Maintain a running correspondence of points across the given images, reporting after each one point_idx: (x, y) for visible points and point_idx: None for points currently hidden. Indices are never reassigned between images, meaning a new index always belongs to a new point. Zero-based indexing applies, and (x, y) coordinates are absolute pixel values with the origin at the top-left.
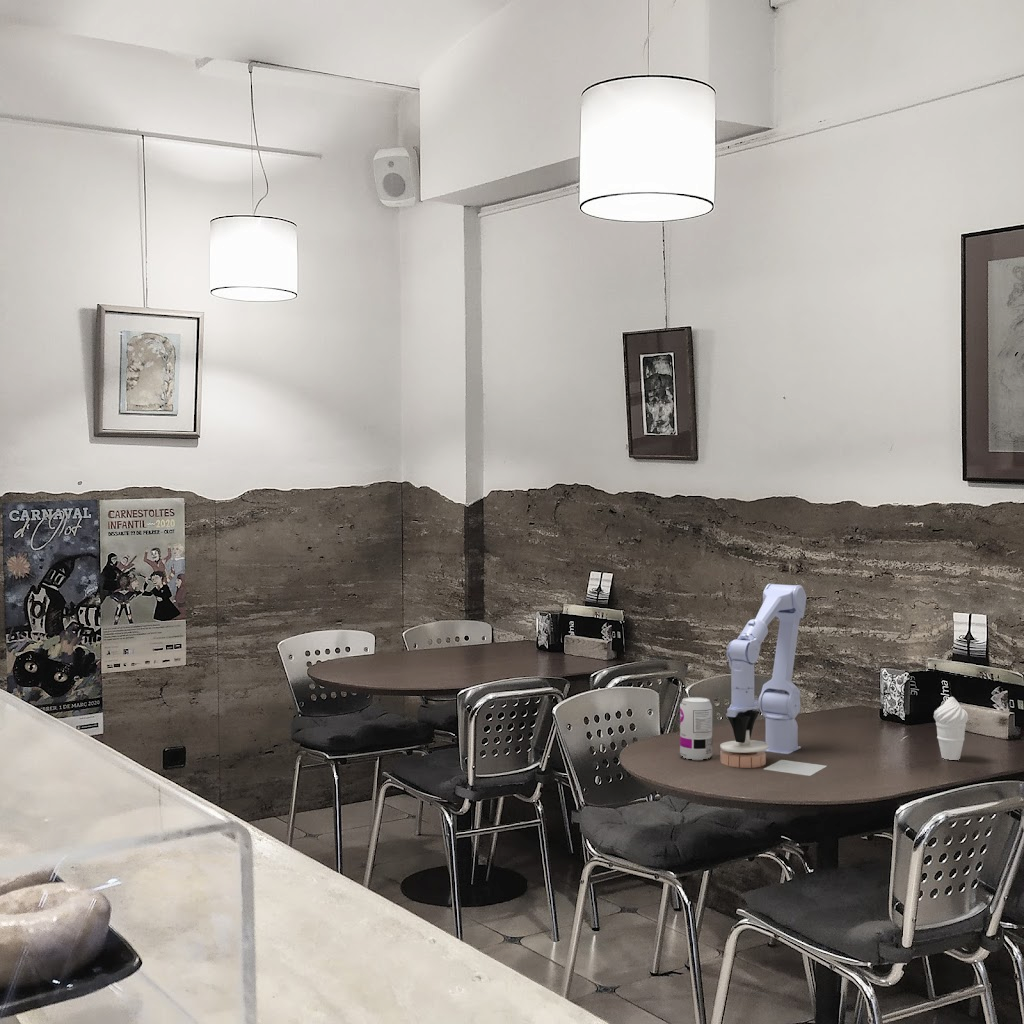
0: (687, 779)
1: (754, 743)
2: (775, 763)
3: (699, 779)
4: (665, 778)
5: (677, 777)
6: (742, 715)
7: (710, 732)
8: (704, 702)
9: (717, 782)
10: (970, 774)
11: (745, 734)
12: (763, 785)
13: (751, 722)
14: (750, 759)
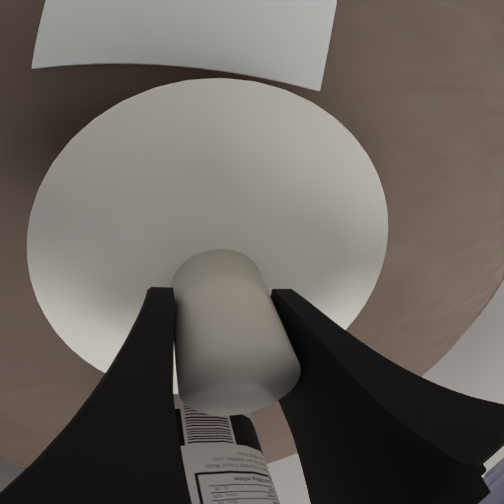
0: (457, 298)
1: (147, 232)
2: (143, 55)
3: (459, 275)
4: (446, 337)
5: (441, 324)
6: (449, 495)
7: (207, 467)
8: None
9: (483, 221)
10: None
11: (316, 324)
12: (494, 82)
13: (174, 432)
14: None
